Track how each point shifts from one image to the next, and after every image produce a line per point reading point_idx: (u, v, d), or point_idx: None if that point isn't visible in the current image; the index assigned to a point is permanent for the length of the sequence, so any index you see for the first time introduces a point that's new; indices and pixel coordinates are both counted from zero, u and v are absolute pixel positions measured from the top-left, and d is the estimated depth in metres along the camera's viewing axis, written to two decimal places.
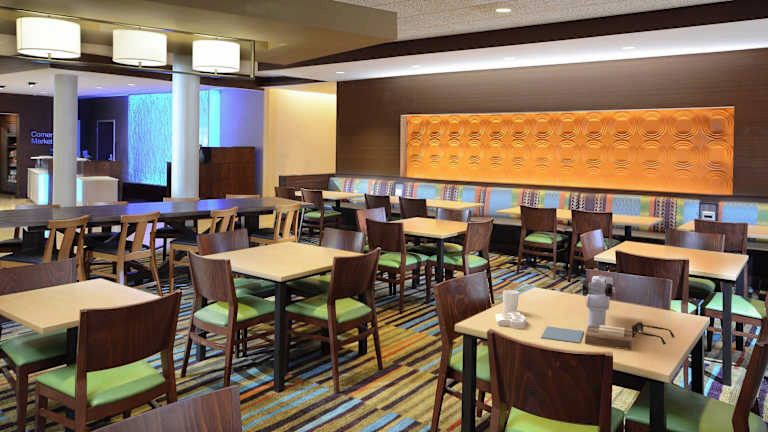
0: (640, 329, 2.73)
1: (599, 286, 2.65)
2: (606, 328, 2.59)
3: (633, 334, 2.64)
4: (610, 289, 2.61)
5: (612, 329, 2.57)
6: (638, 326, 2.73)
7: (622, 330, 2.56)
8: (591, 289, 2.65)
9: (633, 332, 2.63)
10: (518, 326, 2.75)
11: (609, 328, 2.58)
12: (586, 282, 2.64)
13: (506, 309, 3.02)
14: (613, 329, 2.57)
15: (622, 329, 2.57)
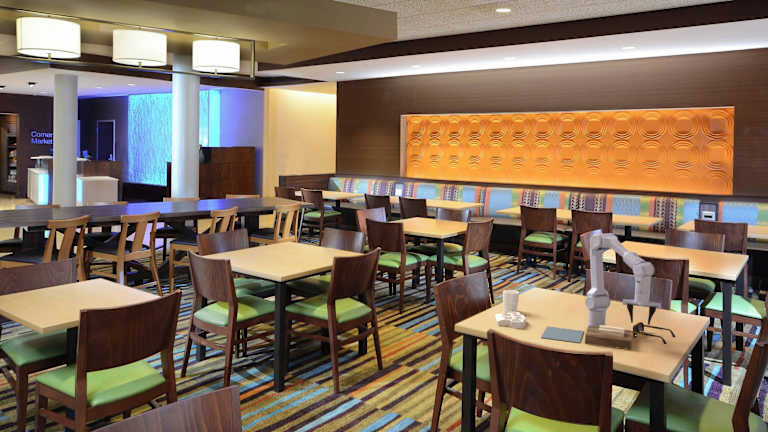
0: (641, 329, 2.73)
1: None
2: (606, 328, 2.59)
3: (634, 334, 2.64)
4: None
5: (612, 329, 2.57)
6: (639, 326, 2.72)
7: (622, 330, 2.56)
8: None
9: (634, 332, 2.63)
10: (518, 326, 2.75)
11: (609, 328, 2.58)
12: (630, 309, 2.52)
13: (506, 309, 3.02)
14: (613, 329, 2.57)
15: (622, 329, 2.57)
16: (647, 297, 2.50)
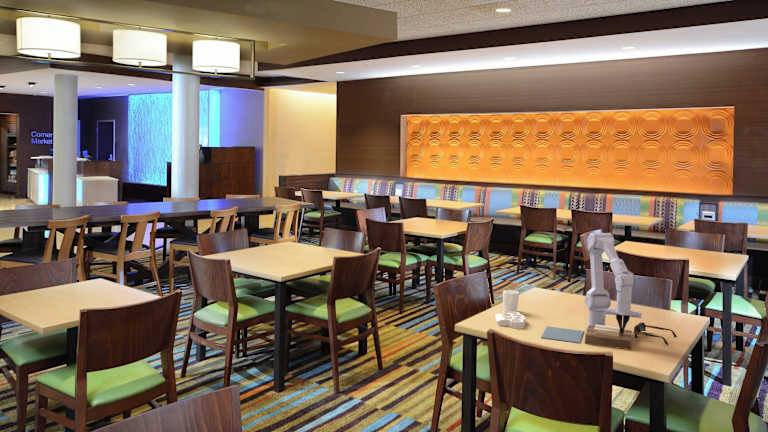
0: (642, 329, 2.73)
1: None
2: (601, 327, 2.60)
3: (635, 335, 2.63)
4: None
5: (608, 328, 2.58)
6: (640, 326, 2.72)
7: (617, 329, 2.57)
8: None
9: (635, 333, 2.63)
10: (518, 326, 2.75)
11: (604, 328, 2.59)
12: (619, 320, 2.54)
13: (506, 309, 3.02)
14: (608, 328, 2.58)
15: (617, 328, 2.58)
16: (628, 307, 2.53)
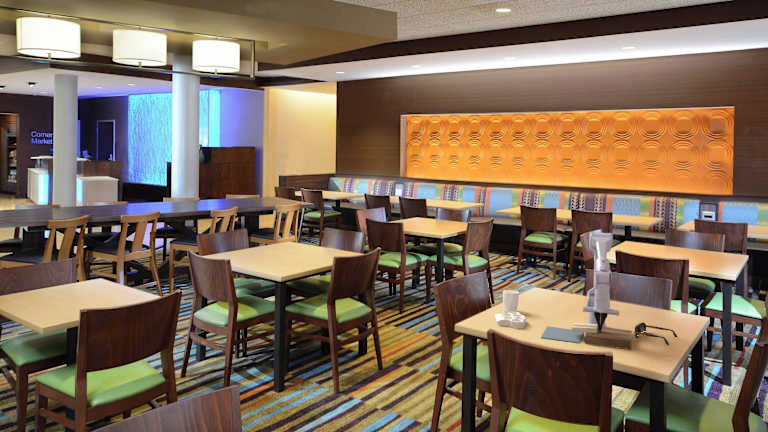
0: (643, 330, 2.72)
1: None
2: (579, 325, 2.63)
3: (636, 335, 2.63)
4: None
5: (586, 326, 2.61)
6: (641, 327, 2.72)
7: (595, 326, 2.60)
8: None
9: (636, 333, 2.62)
10: (518, 326, 2.75)
11: (583, 325, 2.62)
12: (597, 317, 2.58)
13: (506, 309, 3.02)
14: (586, 326, 2.61)
15: (595, 325, 2.61)
16: (606, 304, 2.56)
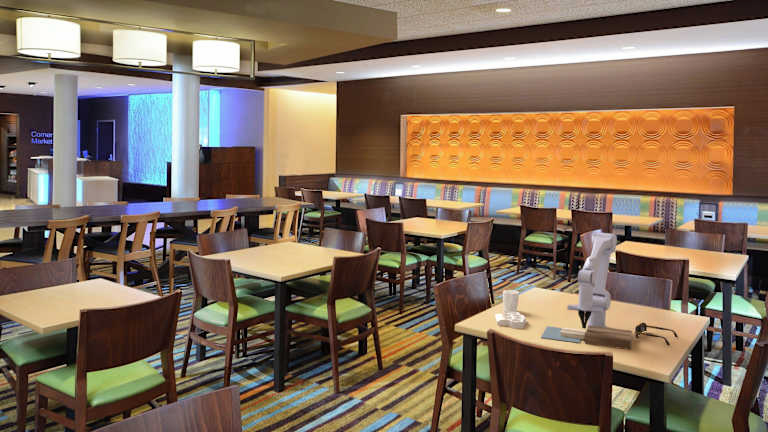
0: (643, 330, 2.72)
1: None
2: (568, 330, 2.65)
3: (637, 335, 2.63)
4: None
5: (574, 331, 2.64)
6: (641, 327, 2.72)
7: (583, 332, 2.62)
8: None
9: (637, 333, 2.62)
10: (518, 326, 2.75)
11: (571, 331, 2.64)
12: (581, 315, 2.60)
13: (506, 309, 3.02)
14: (575, 331, 2.63)
15: (583, 331, 2.63)
16: (590, 303, 2.59)
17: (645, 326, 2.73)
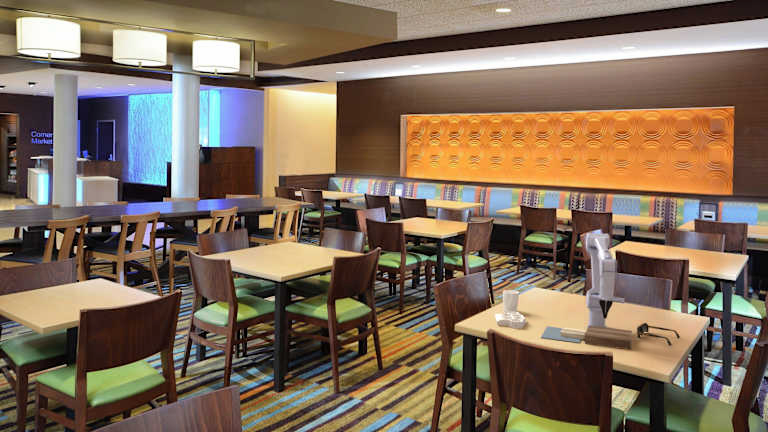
0: (645, 330, 2.72)
1: None
2: (568, 330, 2.65)
3: (638, 335, 2.62)
4: None
5: (574, 331, 2.64)
6: (643, 327, 2.71)
7: (583, 332, 2.62)
8: None
9: (638, 333, 2.62)
10: (517, 326, 2.75)
11: (571, 331, 2.64)
12: (602, 305, 2.58)
13: (506, 309, 3.02)
14: (575, 331, 2.63)
15: (583, 331, 2.63)
16: (611, 292, 2.57)
17: (647, 326, 2.72)
